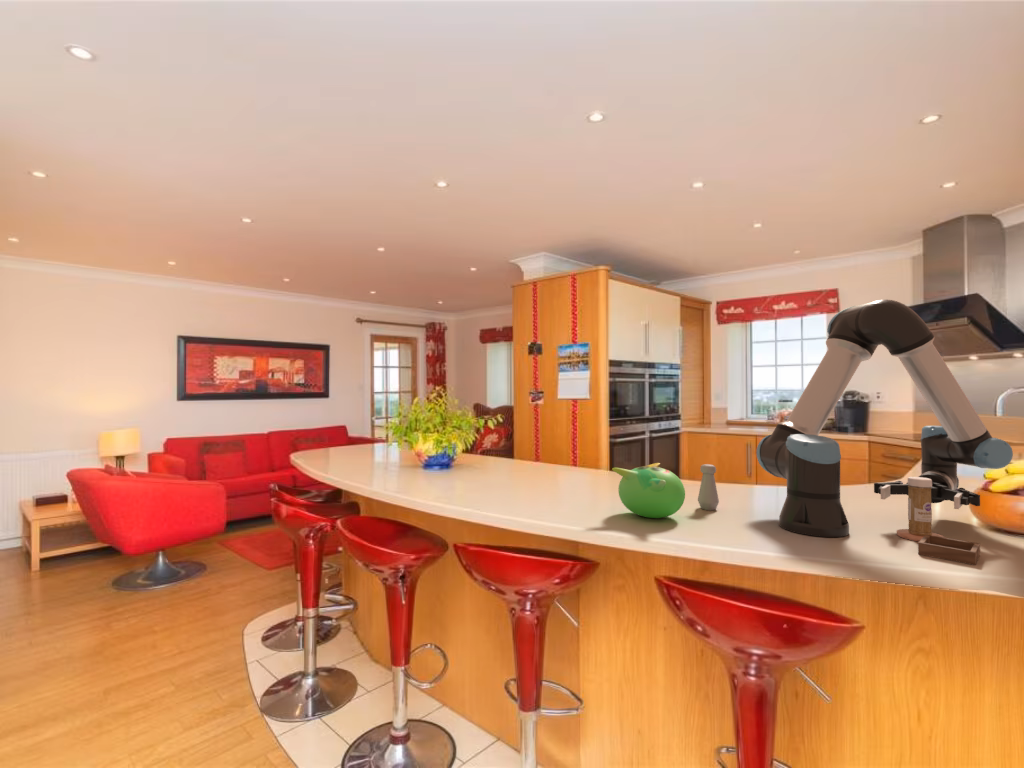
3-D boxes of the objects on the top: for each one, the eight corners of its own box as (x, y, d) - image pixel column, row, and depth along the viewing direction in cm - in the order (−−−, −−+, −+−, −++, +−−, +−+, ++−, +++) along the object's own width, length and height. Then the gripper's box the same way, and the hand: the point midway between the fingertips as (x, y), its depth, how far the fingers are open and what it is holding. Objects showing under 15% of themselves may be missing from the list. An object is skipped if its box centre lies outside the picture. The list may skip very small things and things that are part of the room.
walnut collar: (975, 565, 101) (975, 552, 101) (918, 554, 107) (918, 542, 107) (979, 555, 107) (979, 543, 107) (925, 545, 113) (925, 534, 113)
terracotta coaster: (913, 542, 116) (913, 539, 116) (888, 531, 125) (888, 528, 125) (955, 543, 115) (955, 540, 115) (926, 532, 124) (926, 529, 124)
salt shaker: (720, 511, 145) (720, 466, 145) (699, 510, 146) (699, 465, 146) (716, 506, 151) (716, 463, 151) (696, 506, 152) (696, 463, 152)
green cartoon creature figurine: (694, 517, 139) (694, 463, 139) (667, 529, 126) (667, 470, 126) (635, 506, 151) (635, 457, 151) (605, 517, 138) (605, 463, 138)
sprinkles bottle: (925, 537, 117) (925, 480, 117) (903, 532, 121) (903, 476, 121) (936, 535, 119) (936, 478, 119) (914, 530, 123) (914, 475, 123)
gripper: (998, 509, 123) (991, 524, 108) (875, 493, 141) (855, 505, 127) (998, 478, 123) (990, 490, 109) (875, 467, 141) (855, 475, 127)
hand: (917, 498), depth 118 cm, fingers open, 13 cm apart
